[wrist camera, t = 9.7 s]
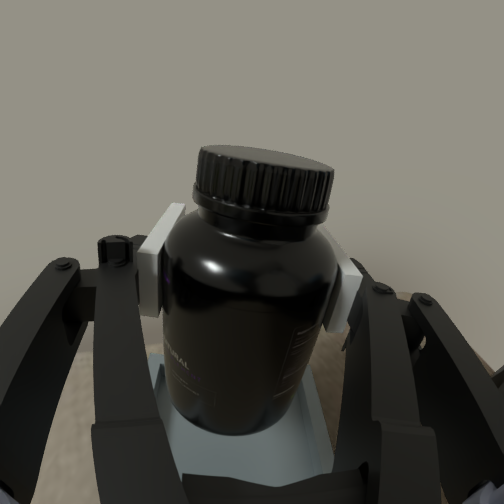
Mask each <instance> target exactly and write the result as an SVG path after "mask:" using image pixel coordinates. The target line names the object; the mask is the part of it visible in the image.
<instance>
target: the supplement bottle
mask: <svg viewBox="0 0 504 504" xmlns="http://www.w3.org/2000/svg"><path fill="white" fill-rule="evenodd" d="M333 179H334V169H332V168H331V167H329V166H327V165H325V164H323V163H320V162H317V161H314V160H311V159H308V158H304V157H300V156H296V155H292V154H287V153H283V152H278V151H271V150H266V149H259V148H252V147H244V146H231V145H210V146H204V147H201V149H200V152H199V156H198V165H197V174H196V182H195V183H194V185H193V195H192V196H193V197H192V198H193V200H194V202H195V203H196V204H198V205H199V206H198V207H199V208H198V209H197V210H195V211H193V212H191V213H189V214H187V215H185V216H184V217H182V218H181V219H180V220H179V221H178V222H177V223H176V224H175V225H174V226H173V227H172V229H171V230H170V232H169V234H168V236H167V238H166V240H165V243H164V249H163V268H162V310H163V346H164V366H165V378H166V387H167V392H168V395H169V398H170V400H171V402H172V404H173V405H174V407H175V408H176V410H177V411H178V412H179V413H180V415H182V416H183V417H184V418H185V419H186V420H187V421H188V422H190V423H191V424H193V425H194V426H196V427H198V428H200V429H202V430H205V431H207V432H210V433H213V434H217V435H223V436H246V435H252V434H256V433H259V432H262V431H264V430H266V429H268V428H270V427H271V426H273V425H274V424H276V423H277V422H278V421H279V420H280V419H281V418H282V417H283V416H284V415H285V414H286V412H287V411H288V409H289V407H290V405H291V403H292V401H293V399H294V397H295V394H296V392H297V390H298V387H299V385H300V382H301V380H302V377H303V375H304V372H305V369H306V367H307V364H308V362H309V359H310V356H311V354H312V351H313V348H314V346H315V343H316V340H317V337H318V335H319V332H320V329H321V326H322V323H323V320H324V317H325V315H326V312H327V309H328V306H329V303H330V300H331V296H332V293H333V290H334V287H335V283H336V279H337V274H338V265H337V259H336V255H335V252H334V250H333V248H332V246H331V244H330V242H329V241H328V240H327V238H326V237H325V236H324V235H323V234H322V233H321V232H320V231H319V230H318V229H317V226H318V225H319V224H321V223H323V222H325V220H326V219H327V215H328V211H329V205H328V201H329V197H330V192H331V188H332V184H333Z"/></svg>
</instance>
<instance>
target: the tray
mask: <svg viewBox="0 0 504 504" xmlns="http://www.w3.org/2000/svg"><path fill="white" fill-rule="evenodd" d="M148 366H149V371H150V376H151V380H152V385H153V390H154V394H155V398H156V403H157V407H158V411H159V415H160V418H161V419H162V421H163V424H164V427H165V430H166V434H167V438H168V441H169V444H170V448H171V451H172V454H173V458H174V461H175V464H176V467H177V470H178V473H179V476H180V479H181V482H182V473H187V474H197V475H208V476H223V477H231V478H235V479H239V480H244V481H248V482H253V483H257V484H262V485H267V486H273V487H280V486H284V485H288V484H291V483H295V482H298V481H301V480H304V479H307V478H311V477H314V476H316V475H319V474H326V473H331V472H332V468H333V463H334V454H333V450H332V446H331V442H330V438H329V434H328V430H327V426H326V422H325V419H324V415H323V411H322V407H321V404H320V400H319V396H318V392H317V389H316V385H315V381H314V378H313V374H312V370H311V367H310V365H307V367H306V369H305V372H304V375H303V377H302V380H301V382H300V385H299V387H298V390H297V392H296V394H295V397H294V399H293V401H292V403H291V405H290V407H289V409H288V411H287V412H286V414H285V415H284V416H283V417H282V418H281V419H280V420H279V421H278V422H277V423H276V424H274V425H273V426H271V427H270V428H268V429H266V430H264V431H262V432H259V433H256V434H252V435H246V436H223V435H217V434H213V433H210V432H207V431H205V430H202V429H200V428H198V427H196V426H194V425H193V424H191V423H190V422H188V421H187V420H186V419H185V418H184V417H183V416H182V415H180V413H179V412H178V411H177V410H176V408H175V407H174V405H173V404H172V402H171V400H170V398H169V395H168V392H167V387H166V378H165V366H164V355H162V354H154V353H150V356H149V359H148Z"/></svg>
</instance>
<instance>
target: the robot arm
mask: <svg viewBox="0 0 504 504" xmlns="http://www.w3.org/2000/svg"><path fill="white" fill-rule="evenodd" d="M185 207H186V204H181V203H172V204H171V205H170V206H169V208H168V209H167V211H166V212H165V213H164V214H163V216H162V217H161V219H160V220H159V221H158V223H157V224H156V226H155V227H154V228H153V230H152V231H151V233H150V234H149V236H144V235H136V236H134V237H131V238H129V237H127V236H122V235H112V236H107V237H103V238H102V239H100V240H99V241H98V257H99V268H97V269H84V270H80V264H79V262H78V260H76V259H74V258H66V257H62V258H58V259H56V260H54V261H52V262H51V263H49V264H48V266H46V268H45V269H44V270H43V271H42V272H41V274H40V275H39V276H38V277H37V279H36V280H35V281H34V282H33V284H32V285H31V286H30V287H29V289H28V290H27V291H26V292H25V294H24V295H23V297H22V298H21V299H20V300H19V302H18V303H17V304H16V306H15V307H14V309H13V310H12V311H11V312H10V314H9V315H8V317H7V318H6V320H5V321H4V322H3V324H2V325H1V327H0V504H30V503H31V500H32V498H33V495H34V492H35V488H36V484H37V480H38V476H39V471H40V467H41V462H42V458H43V454H44V450H45V446H46V442H47V439H48V435H49V432H50V428H51V425H52V421H53V418H54V415H55V411H56V408H57V405H58V402H59V399H60V396H61V393H62V390H63V387H64V384H65V381H66V379H67V376H68V373H69V370H70V368H71V365H72V362H73V360H74V357H75V355H76V352H77V349H78V347H79V345H80V342H81V340H82V337H83V335H84V332H85V330H86V328H87V325H88V321H94V342H93V378H94V404H95V424H92V427H91V440H92V449H93V458H94V466H95V473H96V480H97V486H98V492H99V497H100V503H101V504H441V487H440V482H441V485H442V488H443V491H444V494H445V497H446V499H447V501H448V503H449V504H504V365H503V366H502V367H501V368H500V369H499V370H497V371H496V372H495V373H494V374H492V375H491V376H489V374H488V372H487V371H486V369H485V368H484V366H483V365H482V363H481V362H480V360H479V359H478V357H477V356H476V354H475V353H474V351H473V350H472V348H471V347H470V346H469V344H468V343H467V341H466V340H465V338H464V337H463V336H462V334H461V333H460V331H459V330H458V329H457V327H456V326H455V325H454V323H453V322H452V321H451V319H450V318H449V317H448V315H447V314H446V313H445V312H444V310H443V309H442V307H441V306H440V305H439V304H438V302H437V301H436V300H435V299H434V298H432V297H431V296H430V295H427V294H425V293H414V294H413V295H412V297H411V299H410V302H408V301H404V300H400V299H397V297H396V293H395V292H394V290H393V289H392V288H391V287H389V286H387V285H385V284H383V283H380V282H375V281H374V280H373V279H372V277H371V276H370V275H369V274H368V272H367V271H366V270H365V268H364V267H363V266H362V264H361V263H359V262H358V261H357V260H355V259H353V258H349V257H348V256H347V254H346V253H345V252H344V250H343V249H342V248H341V246H340V245H339V244H338V243H337V241H336V240H335V239H334V237H333V236H332V235H331V234H330V232H329V231H328V230H327V228H326V227H325V226H324V225H323V223H321V224H319V225H318V226H317V229H318V230H319V231H320V232H321V233H322V234H323V235H324V236H325V237H326V238H327V240H328V241H329V242H330V244H331V246H332V248H333V250H334V252H335V255H336V259H337V265H338V274H337V279H336V283H335V287H334V290H333V293H332V296H331V300H330V303H329V306H328V309H327V312H326V315H325V317H324V320H323V325H324V328H325V330H326V332H331V333H343V331H344V328H345V326H346V323H347V322H348V324H349V326H350V330H349V333H348V336H347V338H346V340H345V343H344V345H343V348H342V350H341V351H344V350H345V348H346V360H345V373H344V384H343V395H342V404H341V413H340V422H339V429H338V437H337V444H336V450H335V457H334V463H333V468H332V472H331V473H326V474H319V475H316V476H314V477H311V478H307V479H304V480H301V481H298V482H295V483H291V484H288V485H284V486H280V487H273V486H267V485H262V484H257V483H253V482H248V481H244V480H239V479H235V478H231V477H223V476H208V475H197V474H187V473H182V482H181V479H180V476H179V473H178V470H177V467H176V464H175V461H174V458H173V454H172V451H171V448H170V444H169V441H168V438H167V434H166V430H165V427H164V424H163V421H162V419H161V418H160V415H159V411H158V407H157V403H156V398H155V394H154V390H153V385H152V380H151V376H150V371H149V366H148V361H147V355H146V350H145V344H144V339H143V333H142V328H141V320H140V315H142V316H149V317H156V318H158V316H159V314H160V311H161V308H162V268H163V249H164V243H165V240H166V238H167V236H168V234H169V232H170V230H171V229H172V227H173V226H174V225H175V224H176V223H177V222H178V221H179V220H180V219H181V218H182V217H184V216H185ZM138 305H139V306H138ZM139 311H140V313H139ZM424 336H425V337H426V344H425V346H424V348H423V349H422V348H421V346H420V344H421V342H422V340H423V338H424ZM420 423H421V424H420ZM421 425H422V426H421Z"/></svg>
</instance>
